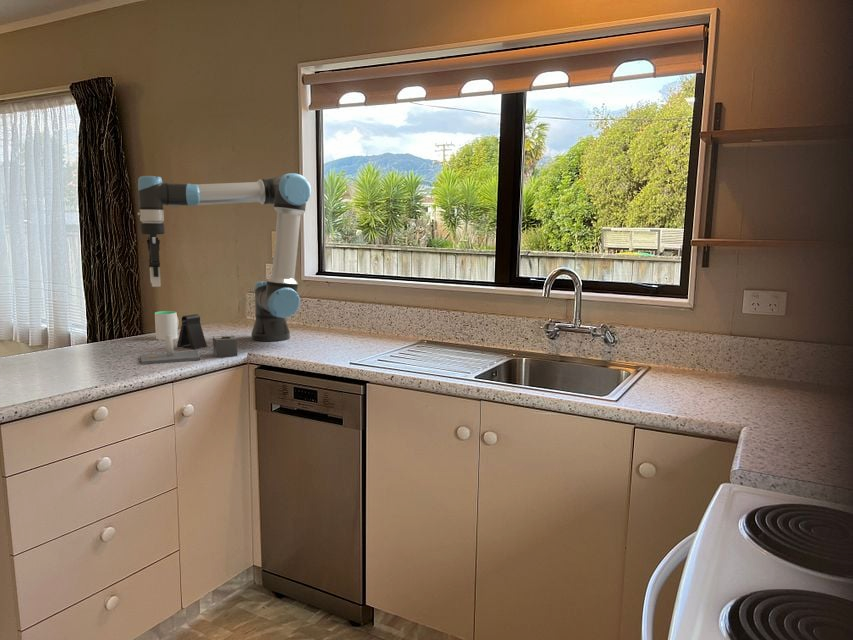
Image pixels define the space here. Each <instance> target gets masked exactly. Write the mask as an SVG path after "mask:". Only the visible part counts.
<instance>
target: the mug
mask: <svg viewBox="0 0 853 640" xmlns="http://www.w3.org/2000/svg"><path fill="white" fill-rule="evenodd" d="M177 313H178V312H177V311H173V310H164V311H163V310H162V311H156V312H154V322H155V323H154V326H155V327H154V328H155V340H157V339H158V340H157V341H166V335H173V340H176V339H179V333H178V329H179V328H178V327H179V324H180V323H179V317H178V314H177Z"/></svg>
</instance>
